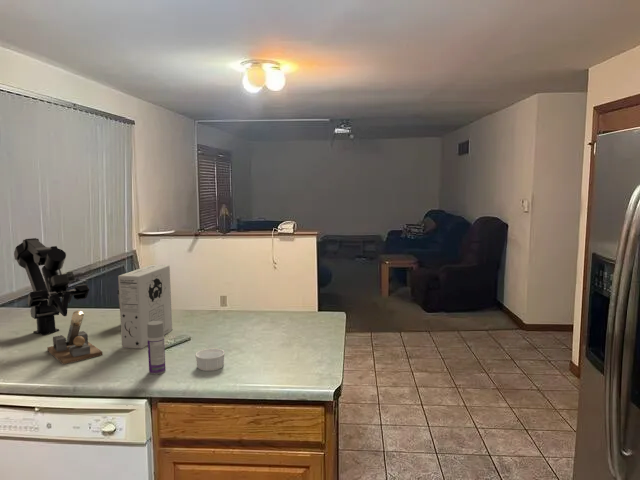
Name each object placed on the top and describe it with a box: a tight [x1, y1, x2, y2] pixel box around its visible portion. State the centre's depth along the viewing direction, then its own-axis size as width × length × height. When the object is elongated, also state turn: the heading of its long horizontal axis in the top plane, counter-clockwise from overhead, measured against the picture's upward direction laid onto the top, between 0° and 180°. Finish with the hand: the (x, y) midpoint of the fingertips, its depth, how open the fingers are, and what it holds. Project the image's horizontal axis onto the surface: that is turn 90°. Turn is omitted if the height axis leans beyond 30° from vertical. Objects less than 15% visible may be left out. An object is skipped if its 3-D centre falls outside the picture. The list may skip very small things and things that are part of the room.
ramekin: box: [195, 347, 226, 372], centre depth 158 cm, size 9×9×4 cm
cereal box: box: [117, 264, 173, 350], centre depth 184 cm, size 22×8×25 cm, turn 168°
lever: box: [66, 310, 84, 346], centre depth 169 cm, size 3×4×16 cm
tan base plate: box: [46, 330, 103, 365], centre depth 170 cm, size 17×12×7 cm
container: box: [147, 321, 167, 375], centre depth 153 cm, size 5×5×15 cm
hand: (65, 315), depth 175 cm, fingers closed
